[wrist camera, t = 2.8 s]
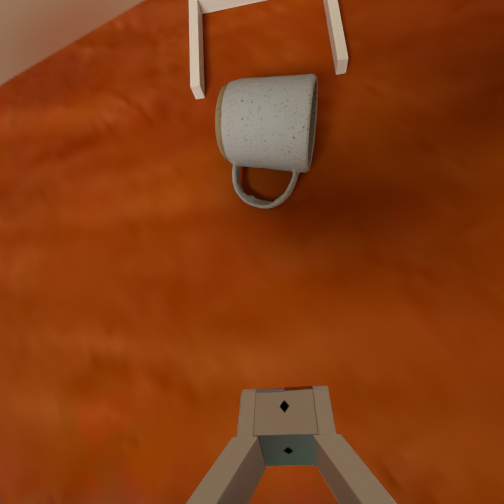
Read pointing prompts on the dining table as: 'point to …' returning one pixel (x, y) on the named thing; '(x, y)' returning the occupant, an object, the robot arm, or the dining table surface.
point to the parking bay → (204, 3)
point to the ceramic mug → (268, 127)
